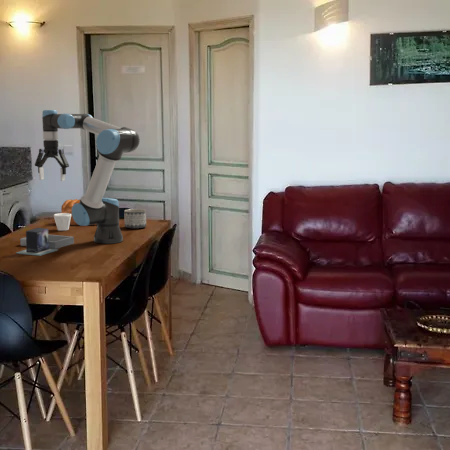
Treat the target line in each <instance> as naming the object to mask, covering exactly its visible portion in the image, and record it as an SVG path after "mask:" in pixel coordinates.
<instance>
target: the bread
mask: <svg viewBox="0 0 450 450" xmlns="http://www.w3.org/2000/svg"><path fill="white" fill-rule="evenodd" d="M79 202H80V199H66V200H65V201H64V202H63V204H62V205H61V212H60V213H69V214H71V220H70V225H69V226H79V225H78V224H77V223H76V222H75V221H74V219H73V216H72V207H73V205H74V204H76V203H79ZM91 226H97V224H92V225H91Z"/></svg>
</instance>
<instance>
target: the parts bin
mask: <svg viewBox="0 0 450 450" xmlns="http://www.w3.org/2000/svg"><path fill="white" fill-rule="evenodd" d="M48 238H49V249H61V248H62V247H63V248H64V247H66V246H71V245H73V244H75V237H74V236H68V235H67V236H66V235H59V234H58V235H57V234H48ZM19 240H20V245H19V246H20V247H26V236H25V237H22V238H20V239H19Z"/></svg>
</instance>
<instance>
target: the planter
mask: <svg viewBox="0 0 450 450" xmlns="http://www.w3.org/2000/svg"><path fill="white" fill-rule="evenodd" d="M123 214H124V219H123V220H124V221H123V222H124V227H125V228H128V229H129V228H130V229H131V230H140V229H139V228H141V229H143V228H146V227H147V210H146V209H141V208H132V209H131V208H130V209H125V210H124V213H123Z"/></svg>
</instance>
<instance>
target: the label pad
mask: <svg viewBox="0 0 450 450" xmlns="http://www.w3.org/2000/svg"><path fill="white" fill-rule="evenodd" d="M57 251H59V248H57V249H51V248H49V249H47V250H44V251H41V252H38V253H32V252H26V249H24V250H20V251H18V252H17V251H16V254H19V255H27V256H28V255H30V256H38V257H39V256H40V257H41V256H43V255H47V254H48V255H49V254H51V253H53V252H57Z"/></svg>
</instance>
